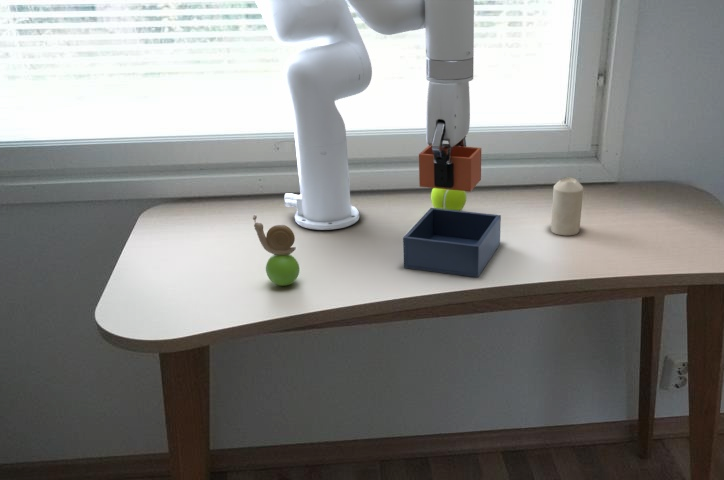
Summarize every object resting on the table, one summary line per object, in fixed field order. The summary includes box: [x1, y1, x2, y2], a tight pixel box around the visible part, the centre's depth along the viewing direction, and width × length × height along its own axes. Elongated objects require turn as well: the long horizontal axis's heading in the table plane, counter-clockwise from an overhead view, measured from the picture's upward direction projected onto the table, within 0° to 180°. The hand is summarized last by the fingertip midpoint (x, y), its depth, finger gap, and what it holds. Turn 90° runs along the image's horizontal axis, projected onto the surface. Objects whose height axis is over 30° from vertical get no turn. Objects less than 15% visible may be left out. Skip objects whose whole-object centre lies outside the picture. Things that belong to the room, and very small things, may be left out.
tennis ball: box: [430, 188, 467, 211], centre depth 165 cm, size 7×7×7 cm
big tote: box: [402, 207, 502, 278], centre depth 148 cm, size 13×15×6 cm
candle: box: [550, 176, 584, 236], centre depth 157 cm, size 6×6×10 cm
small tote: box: [418, 145, 482, 193], centre depth 140 cm, size 9×6×6 cm
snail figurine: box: [252, 214, 300, 287], centre depth 136 cm, size 5×6×12 cm
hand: (450, 179), depth 141 cm, fingers closed on small tote, 6 cm apart
